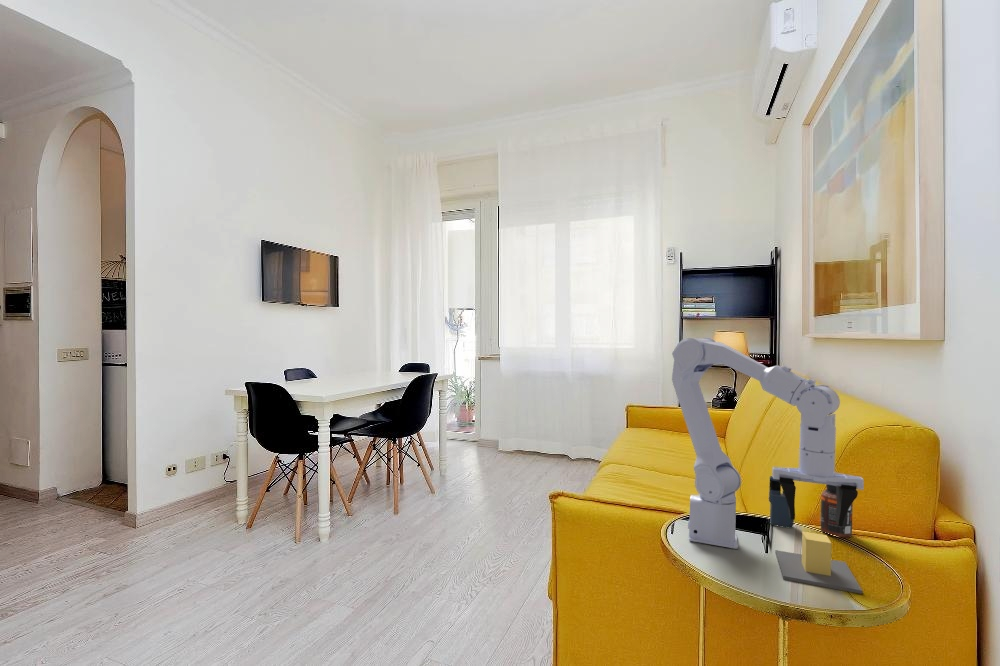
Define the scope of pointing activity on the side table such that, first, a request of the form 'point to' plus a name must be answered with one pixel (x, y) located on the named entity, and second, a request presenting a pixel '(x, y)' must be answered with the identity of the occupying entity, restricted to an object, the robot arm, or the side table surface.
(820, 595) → the side table surface
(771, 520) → the vaping device
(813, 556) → the mustard block
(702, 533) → the robot arm
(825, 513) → the supplement bottle
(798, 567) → the charcoal mat
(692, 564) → the side table surface
